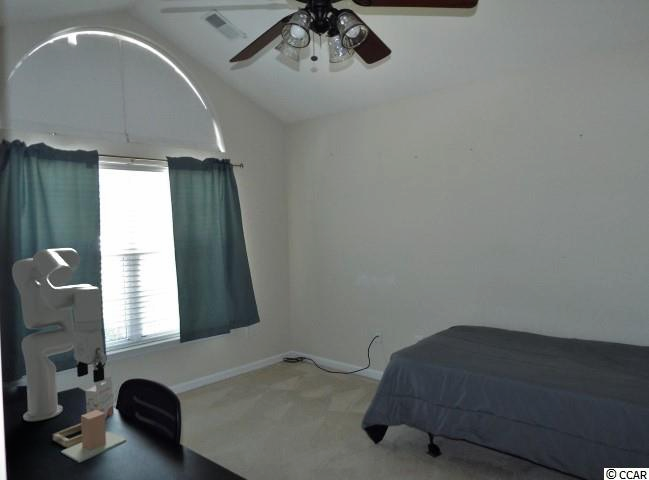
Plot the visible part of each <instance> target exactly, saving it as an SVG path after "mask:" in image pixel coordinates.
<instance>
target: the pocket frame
mask: <svg viewBox="0 0 649 480" xmlns="http://www.w3.org/2000/svg"><path fill="white" fill-rule="evenodd" d="M78 432H82V428H81V422H80V423H78V424H75V425H72V426H70V427H67V428H65V429H62V430H60V431H57V432H55V433H53V434H52V441H54V442H56V443H58V444H59V445H61V446H63V447H64V448H66V449H67V448H69V447H72V446H74V445H77V444H79V443H81V442H82V433H81V434H79V435H75V436H74V437H71V438H67V436H70V435H71V436H72V435H73V434H76V433H78Z"/></svg>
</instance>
